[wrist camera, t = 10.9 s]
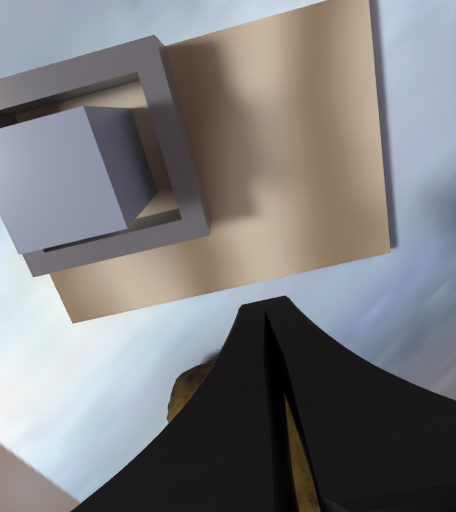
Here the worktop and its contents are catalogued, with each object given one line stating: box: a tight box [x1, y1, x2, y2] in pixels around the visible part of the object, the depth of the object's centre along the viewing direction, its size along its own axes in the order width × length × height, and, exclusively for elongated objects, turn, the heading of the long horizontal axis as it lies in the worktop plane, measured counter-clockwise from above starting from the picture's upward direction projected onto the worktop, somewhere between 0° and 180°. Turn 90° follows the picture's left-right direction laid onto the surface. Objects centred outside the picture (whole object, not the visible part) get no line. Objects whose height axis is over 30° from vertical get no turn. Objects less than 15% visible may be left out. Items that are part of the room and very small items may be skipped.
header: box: [0, 35, 212, 277], centre depth 16 cm, size 9×8×2 cm
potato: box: [167, 362, 320, 512], centre depth 20 cm, size 8×13×8 cm, turn 21°
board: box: [15, 0, 391, 323], centre depth 18 cm, size 18×12×1 cm, turn 104°
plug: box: [0, 106, 157, 255], centre depth 15 cm, size 4×4×6 cm
